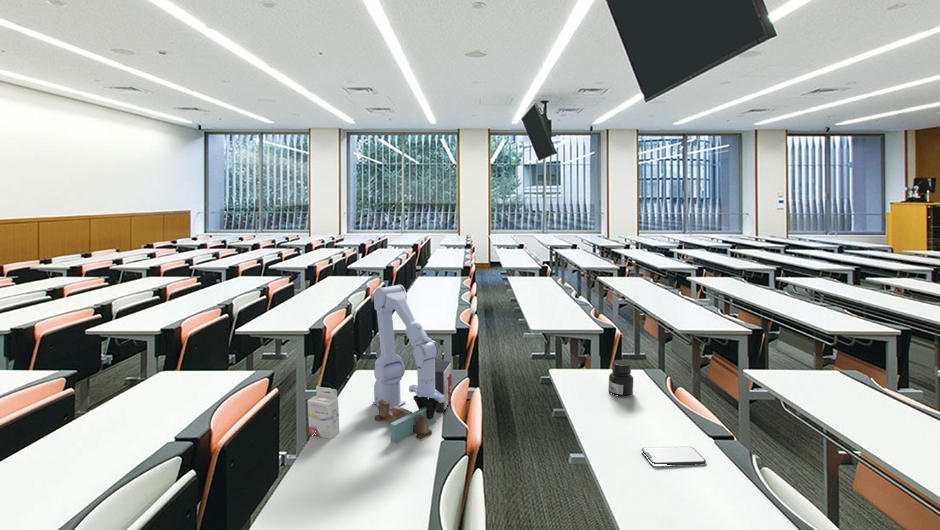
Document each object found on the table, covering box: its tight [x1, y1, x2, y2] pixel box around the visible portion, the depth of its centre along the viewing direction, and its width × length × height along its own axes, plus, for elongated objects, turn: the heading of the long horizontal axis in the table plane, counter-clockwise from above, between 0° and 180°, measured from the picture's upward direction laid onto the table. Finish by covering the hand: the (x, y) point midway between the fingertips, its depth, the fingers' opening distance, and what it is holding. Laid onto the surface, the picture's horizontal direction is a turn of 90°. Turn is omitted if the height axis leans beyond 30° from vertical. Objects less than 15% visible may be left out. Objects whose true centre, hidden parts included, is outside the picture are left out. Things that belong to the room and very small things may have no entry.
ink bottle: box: [607, 359, 634, 397], centre depth 187 cm, size 10×9×12 cm
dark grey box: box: [435, 360, 453, 413], centre depth 176 cm, size 11×4×15 cm, turn 168°
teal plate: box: [389, 407, 437, 444], centre depth 158 cm, size 18×2×6 cm, turn 140°
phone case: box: [641, 446, 707, 466], centre depth 143 cm, size 9×2×16 cm
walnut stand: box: [374, 400, 433, 441], centre depth 162 cm, size 22×5×6 cm, turn 51°
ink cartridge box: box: [307, 385, 340, 440], centre depth 157 cm, size 9×5×15 cm, turn 71°
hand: (427, 417), depth 163 cm, fingers open, 3 cm apart
